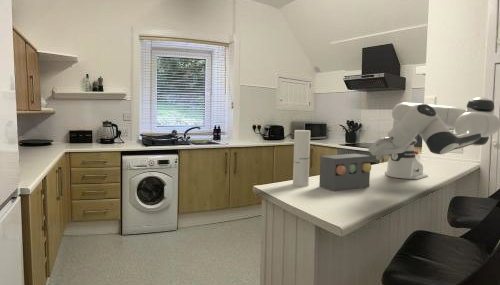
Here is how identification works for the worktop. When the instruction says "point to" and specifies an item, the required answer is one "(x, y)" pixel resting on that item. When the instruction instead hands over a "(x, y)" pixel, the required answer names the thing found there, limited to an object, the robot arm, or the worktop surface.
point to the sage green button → (352, 168)
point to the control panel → (348, 179)
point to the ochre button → (366, 167)
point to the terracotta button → (340, 170)
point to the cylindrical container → (301, 158)
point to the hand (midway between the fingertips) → (378, 158)
